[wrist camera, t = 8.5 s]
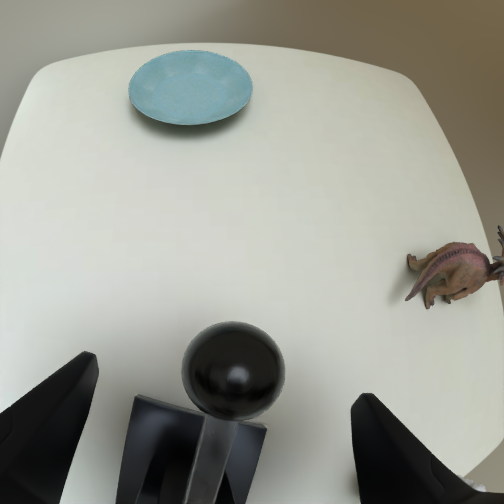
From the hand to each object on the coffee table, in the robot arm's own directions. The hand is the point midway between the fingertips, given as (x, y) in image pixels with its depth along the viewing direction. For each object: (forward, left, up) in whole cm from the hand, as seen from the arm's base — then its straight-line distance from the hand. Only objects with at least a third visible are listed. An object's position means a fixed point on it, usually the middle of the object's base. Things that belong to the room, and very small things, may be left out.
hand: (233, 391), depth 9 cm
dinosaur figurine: (+12, -19, -11) cm, 25 cm away
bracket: (-9, 0, -11) cm, 15 cm away
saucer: (+23, +9, -11) cm, 27 cm away
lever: (-4, 0, -3) cm, 5 cm away
